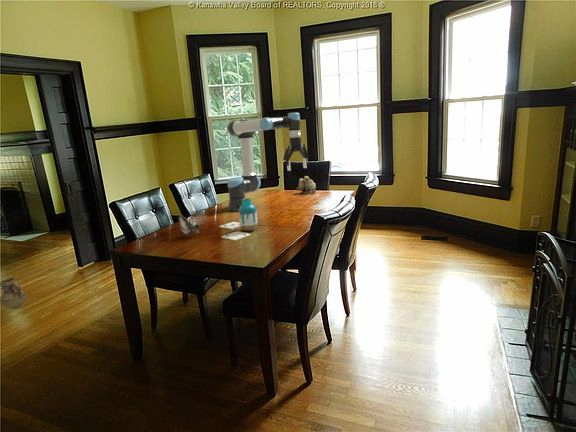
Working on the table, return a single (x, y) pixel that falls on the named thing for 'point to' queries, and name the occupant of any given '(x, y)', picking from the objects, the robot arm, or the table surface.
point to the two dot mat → (235, 235)
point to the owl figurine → (306, 186)
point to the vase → (248, 215)
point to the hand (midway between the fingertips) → (297, 169)
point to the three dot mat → (231, 225)
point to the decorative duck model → (187, 226)
